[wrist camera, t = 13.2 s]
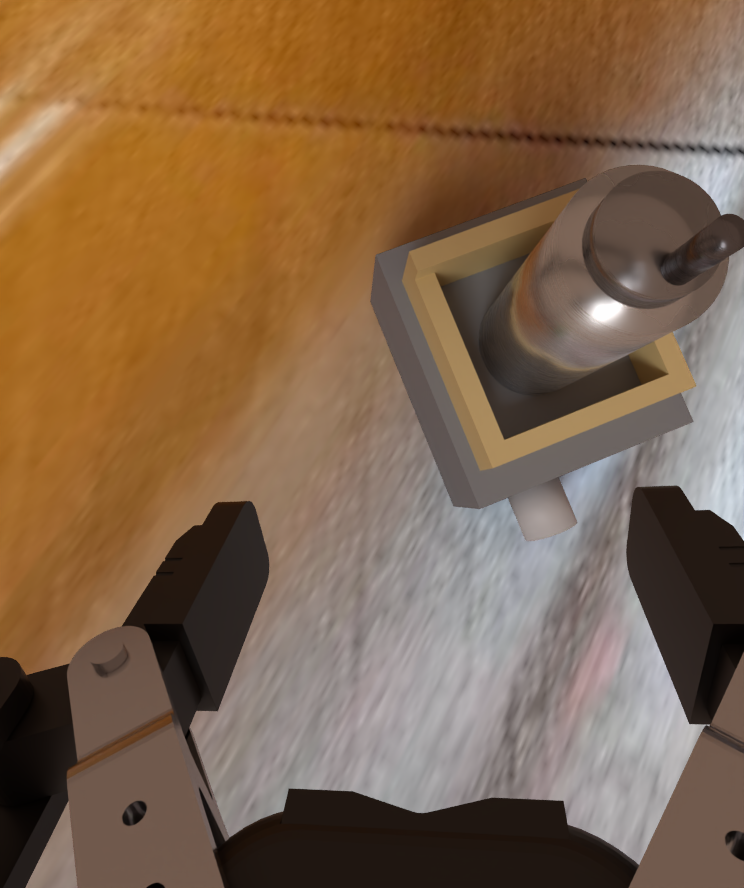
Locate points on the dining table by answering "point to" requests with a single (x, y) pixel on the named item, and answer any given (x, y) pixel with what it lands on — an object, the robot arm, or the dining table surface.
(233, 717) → the dining table surface
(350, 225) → the dining table surface
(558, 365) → the oil can
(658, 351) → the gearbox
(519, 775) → the dining table surface
